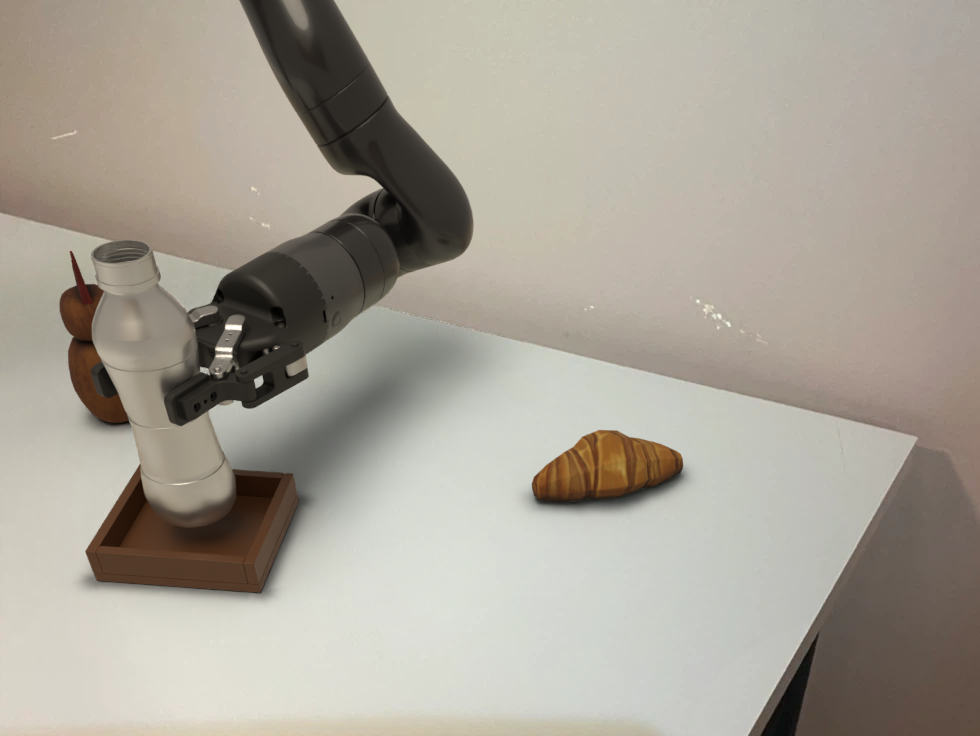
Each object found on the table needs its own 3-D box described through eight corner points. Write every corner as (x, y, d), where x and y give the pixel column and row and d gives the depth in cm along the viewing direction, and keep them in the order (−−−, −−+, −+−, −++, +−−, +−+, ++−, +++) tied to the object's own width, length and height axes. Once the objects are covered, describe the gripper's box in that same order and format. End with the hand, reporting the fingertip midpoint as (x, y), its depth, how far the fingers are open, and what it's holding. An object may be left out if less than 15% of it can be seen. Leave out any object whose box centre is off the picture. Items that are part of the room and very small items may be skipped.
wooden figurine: (146, 431, 90) (96, 261, 79) (80, 432, 90) (19, 262, 79) (160, 392, 95) (114, 226, 84) (97, 393, 95) (42, 226, 83)
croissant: (663, 451, 90) (670, 400, 86) (696, 494, 86) (704, 442, 82) (518, 478, 87) (519, 426, 83) (545, 524, 82) (546, 471, 79)
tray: (96, 581, 77) (84, 551, 74) (149, 491, 84) (140, 462, 82) (260, 593, 76) (253, 563, 74) (299, 501, 84) (293, 472, 82)
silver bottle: (238, 536, 77) (170, 273, 62) (146, 541, 76) (55, 276, 61) (246, 486, 81) (184, 228, 66) (159, 490, 80) (76, 231, 65)
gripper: (210, 229, 78) (38, 318, 68) (362, 274, 73) (200, 376, 64) (231, 323, 84) (75, 417, 74) (373, 370, 79) (226, 477, 69)
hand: (134, 398), depth 69 cm, fingers closed on silver bottle, 6 cm apart
